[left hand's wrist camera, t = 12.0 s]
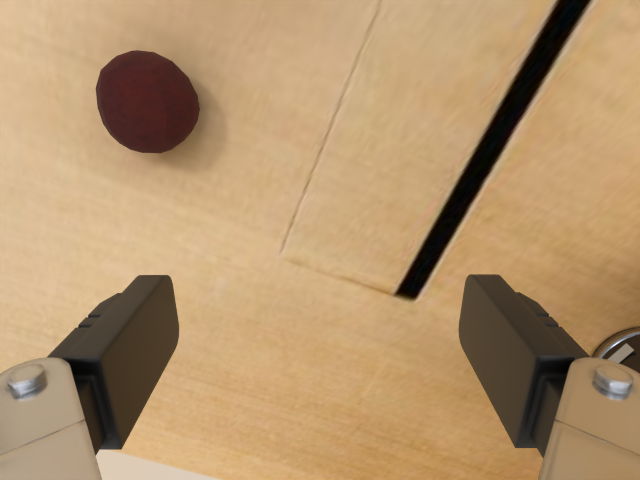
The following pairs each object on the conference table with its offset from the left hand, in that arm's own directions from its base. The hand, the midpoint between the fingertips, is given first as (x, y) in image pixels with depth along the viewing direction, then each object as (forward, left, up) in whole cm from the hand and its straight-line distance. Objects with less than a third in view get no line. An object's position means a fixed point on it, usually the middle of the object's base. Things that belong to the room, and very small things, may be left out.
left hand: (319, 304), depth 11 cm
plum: (+13, -4, -28) cm, 31 cm away
